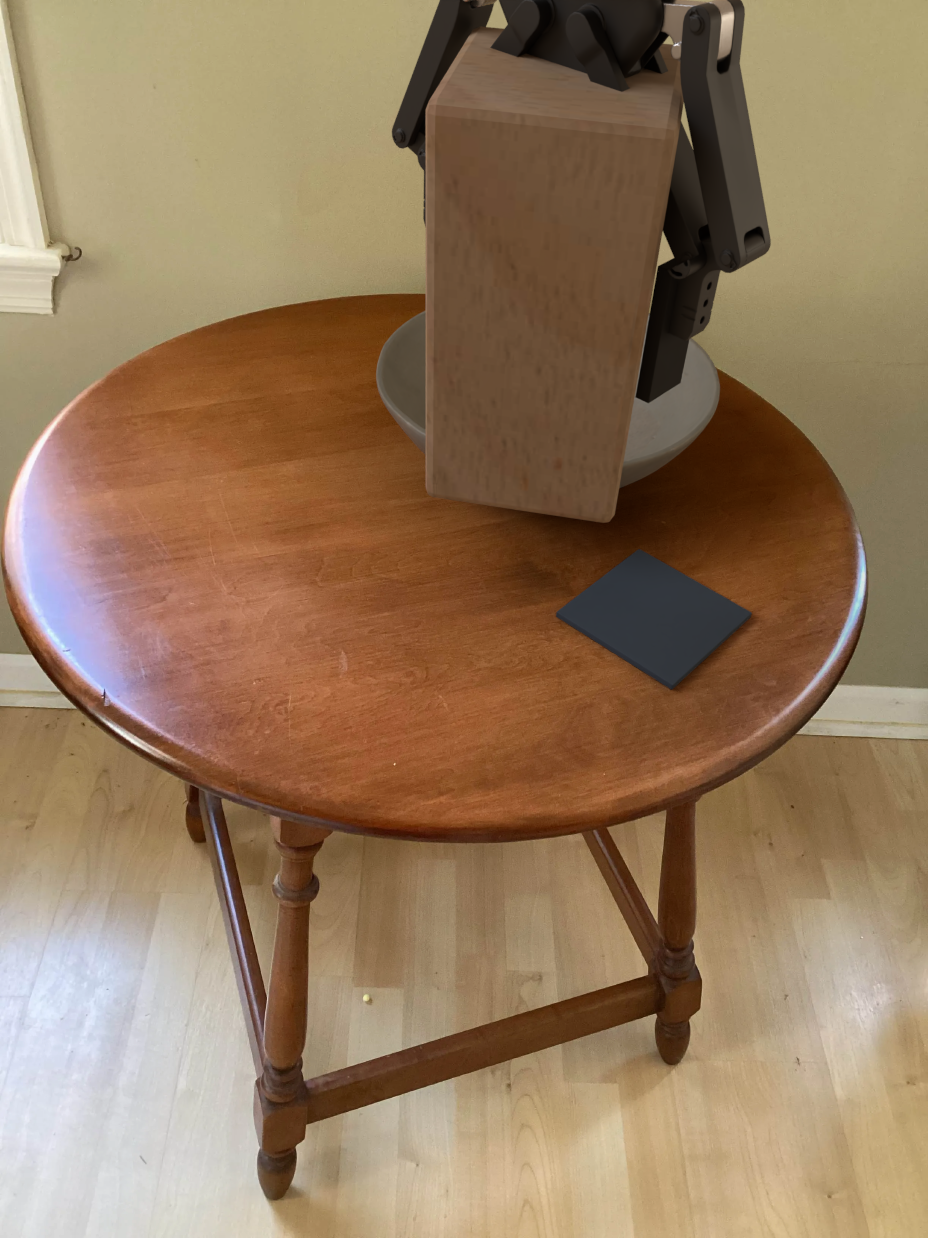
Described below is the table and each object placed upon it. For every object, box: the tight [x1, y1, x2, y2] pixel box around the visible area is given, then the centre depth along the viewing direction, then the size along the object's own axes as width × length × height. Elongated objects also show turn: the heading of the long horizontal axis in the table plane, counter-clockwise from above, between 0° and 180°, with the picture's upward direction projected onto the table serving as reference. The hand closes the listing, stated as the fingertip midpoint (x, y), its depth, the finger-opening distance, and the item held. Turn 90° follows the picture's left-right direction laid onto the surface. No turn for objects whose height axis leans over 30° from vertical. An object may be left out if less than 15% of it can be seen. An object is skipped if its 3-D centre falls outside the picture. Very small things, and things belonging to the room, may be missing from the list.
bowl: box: [375, 310, 721, 489], centre depth 86 cm, size 27×28×8 cm
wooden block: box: [425, 26, 684, 524], centre depth 51 cm, size 10×10×20 cm
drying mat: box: [555, 548, 753, 690], centre depth 74 cm, size 10×10×1 cm
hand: (548, 340), depth 54 cm, fingers closed on wooden block, 13 cm apart
